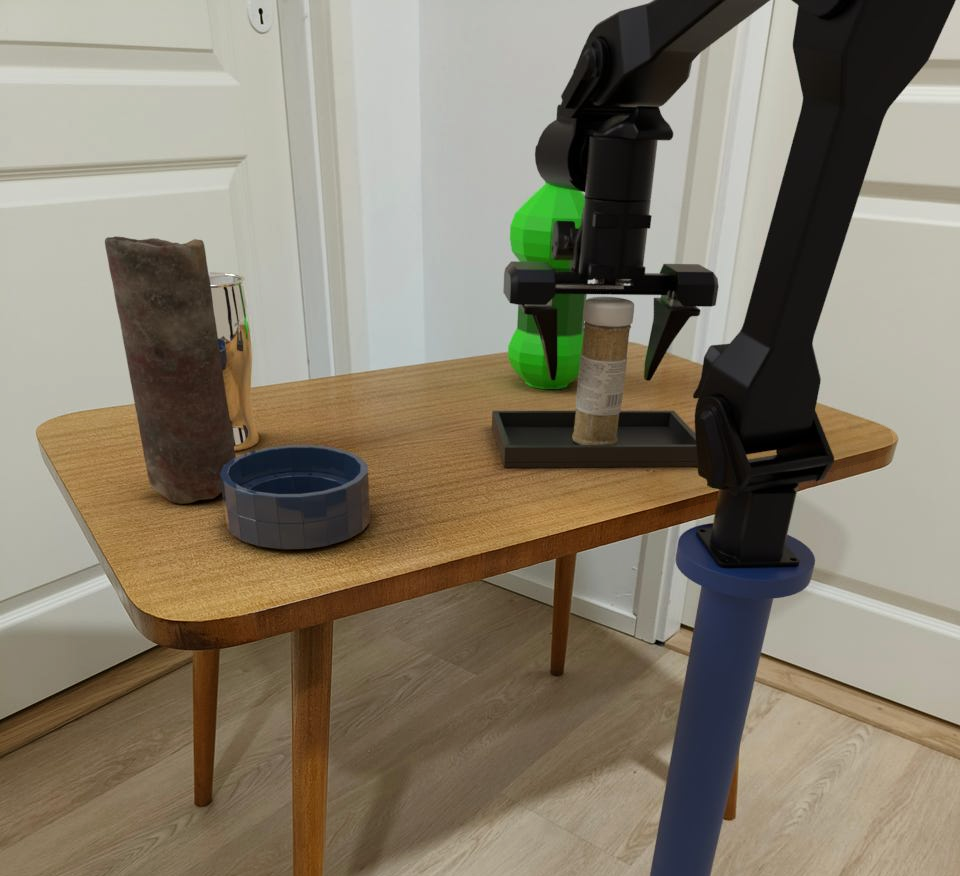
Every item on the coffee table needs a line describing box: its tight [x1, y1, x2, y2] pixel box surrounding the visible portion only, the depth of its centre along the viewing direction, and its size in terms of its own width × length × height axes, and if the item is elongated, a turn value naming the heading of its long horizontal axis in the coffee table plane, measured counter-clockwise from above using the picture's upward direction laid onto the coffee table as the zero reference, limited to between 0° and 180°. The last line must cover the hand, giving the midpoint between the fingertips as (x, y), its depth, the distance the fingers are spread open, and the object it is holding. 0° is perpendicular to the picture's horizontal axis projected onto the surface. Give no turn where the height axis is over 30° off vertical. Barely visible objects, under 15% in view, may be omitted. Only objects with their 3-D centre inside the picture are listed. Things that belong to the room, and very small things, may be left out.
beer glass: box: [208, 271, 260, 452], centre depth 83 cm, size 7×7×15 cm
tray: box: [491, 410, 698, 469], centre depth 88 cm, size 11×19×2 cm, turn 95°
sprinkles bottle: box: [572, 296, 635, 445], centre depth 85 cm, size 5×5×13 cm
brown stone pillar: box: [104, 235, 236, 505], centre depth 72 cm, size 8×7×20 cm
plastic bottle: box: [507, 182, 588, 390], centre depth 102 cm, size 10×10×25 cm
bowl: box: [220, 444, 371, 550], centre depth 70 cm, size 11×11×4 cm
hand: (599, 379), depth 85 cm, fingers open, 9 cm apart
